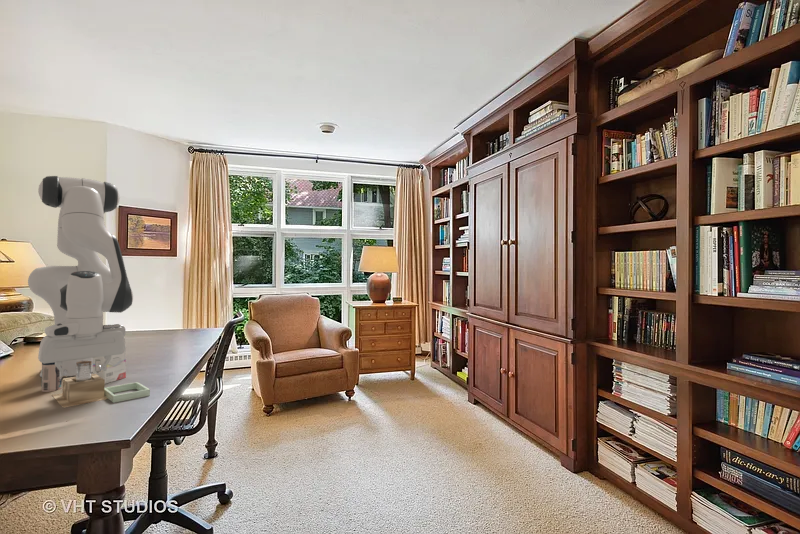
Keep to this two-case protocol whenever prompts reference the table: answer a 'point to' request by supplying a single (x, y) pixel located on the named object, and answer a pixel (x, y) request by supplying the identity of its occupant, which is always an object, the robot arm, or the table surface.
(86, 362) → the steel pin
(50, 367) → the beer can
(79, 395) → the block
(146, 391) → the tray
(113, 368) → the ink cartridge box
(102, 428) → the table surface
